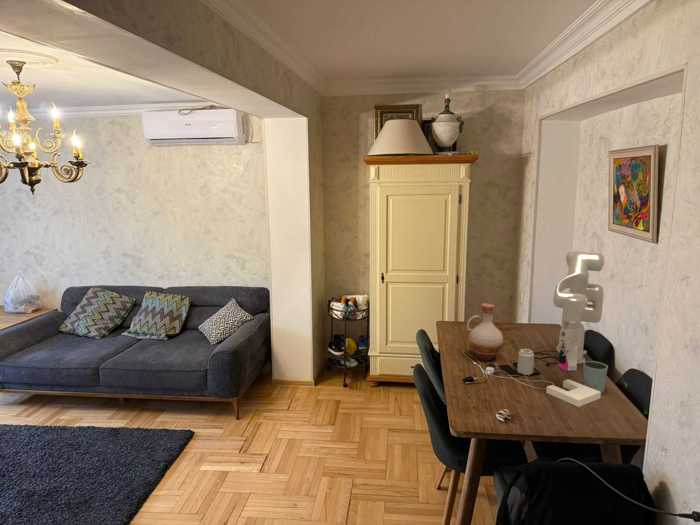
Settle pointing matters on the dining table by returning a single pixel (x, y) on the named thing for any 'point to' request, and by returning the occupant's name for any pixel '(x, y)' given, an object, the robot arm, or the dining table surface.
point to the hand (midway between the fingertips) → (567, 361)
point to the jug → (485, 335)
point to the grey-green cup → (595, 375)
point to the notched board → (574, 393)
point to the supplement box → (569, 361)
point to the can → (525, 361)
